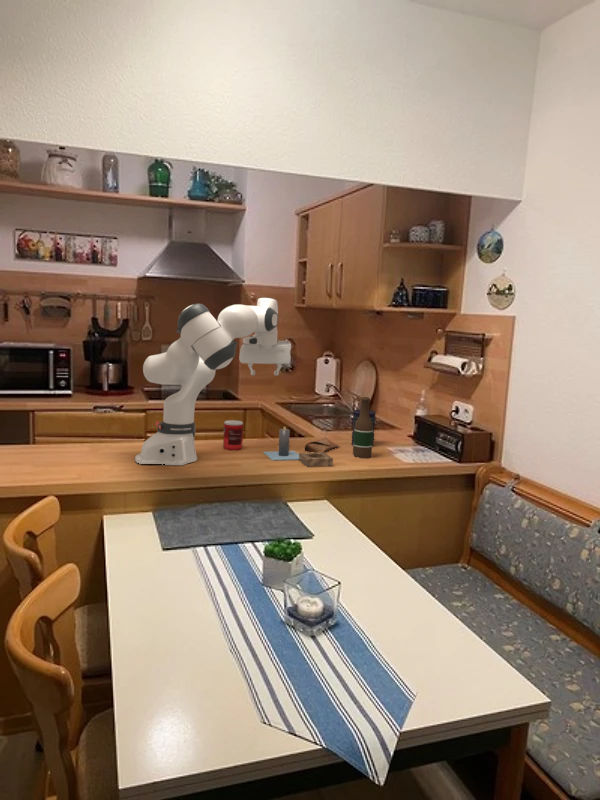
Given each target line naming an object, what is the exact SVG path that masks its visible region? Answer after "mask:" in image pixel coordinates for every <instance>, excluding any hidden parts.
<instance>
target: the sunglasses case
mask: <svg viewBox="0 0 600 800" xmlns="http://www.w3.org/2000/svg"><path fill="white" fill-rule="evenodd" d="M338 447H340V448H341V446H339V445H338V444H336V443H335V442H333V441H332V440H330V439H328V438H327V437H324V438H321V439H317V440H314V441H311V442H308V443H306V444H305V446H304V452H306V451H307V452H306V453H311V452H314V453H318V452H324V453H327V451H328V452H330V451H329V450H331V451H333V450H336V449H339V448H338ZM335 448H336V449H335ZM332 449H333V450H332Z"/></svg>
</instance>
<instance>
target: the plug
mask: <svg viewBox="0 0 600 800" xmlns="http://www.w3.org/2000/svg"><path fill="white" fill-rule="evenodd" d="M278 430H279V431H278V433H279V435H278V451H279V452H278V455H279V456H288V455H289V451H290V431H291V430H290V429H289V428H288V429H287V427H286V426H283V428H280V429H278Z"/></svg>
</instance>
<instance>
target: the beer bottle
mask: <svg viewBox="0 0 600 800" xmlns="http://www.w3.org/2000/svg"><path fill="white" fill-rule="evenodd" d="M360 400H361V403H360V409H359V410H360V415H359V418H358V419H357V420H356V423H355V427H354V441H353V445H352V455H354V456H355V457H354V456H353V457H354V458H357V457H359V458H358V459H369V458H368V457H370V458H372V454H373V447H372V440H373V424H372V421H371V419H370V416H369V410H370V401H371V398H370V397H369V396H363V397H361V398H360Z"/></svg>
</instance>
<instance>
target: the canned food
mask: <svg viewBox="0 0 600 800" xmlns="http://www.w3.org/2000/svg"><path fill="white" fill-rule="evenodd" d="M243 436H244V422H243V421H241V420H236V419H235V420H232V419H231V420H229V419H228V420H224V422H223V444H222V445H223V449H224V450H226V449H227V451H232V450H236V451H240V449H241V450H242V448H243V440H244V439H243V438H244V437H243Z"/></svg>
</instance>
